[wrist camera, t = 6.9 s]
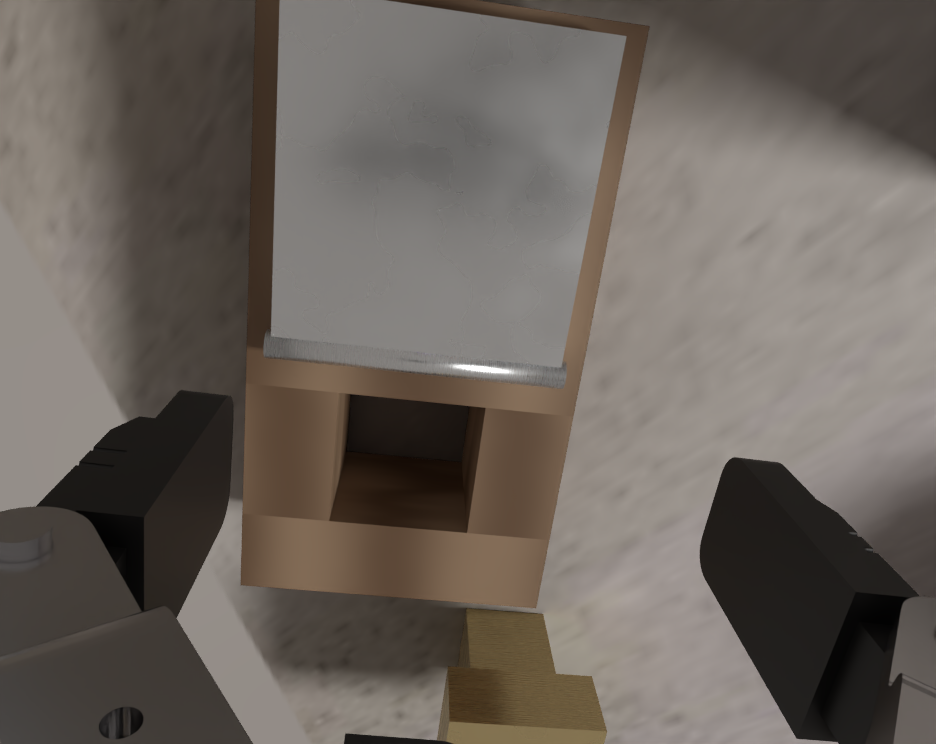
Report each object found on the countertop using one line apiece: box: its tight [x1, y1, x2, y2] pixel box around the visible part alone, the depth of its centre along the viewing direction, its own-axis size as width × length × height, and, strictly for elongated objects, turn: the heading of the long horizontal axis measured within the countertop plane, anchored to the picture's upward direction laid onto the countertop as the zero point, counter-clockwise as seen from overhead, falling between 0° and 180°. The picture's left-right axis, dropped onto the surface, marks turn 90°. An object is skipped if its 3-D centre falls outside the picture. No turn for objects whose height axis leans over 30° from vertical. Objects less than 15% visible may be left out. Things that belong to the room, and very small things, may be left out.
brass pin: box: [437, 608, 607, 744], centre depth 34 cm, size 6×6×8 cm
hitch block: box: [241, 0, 649, 608], centre depth 29 cm, size 12×22×6 cm, turn 173°
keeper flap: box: [263, 0, 627, 389], centre depth 23 cm, size 10×12×1 cm
